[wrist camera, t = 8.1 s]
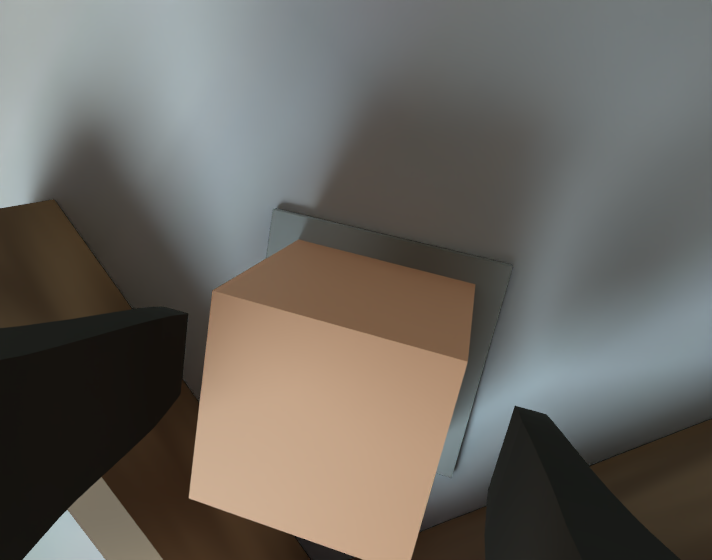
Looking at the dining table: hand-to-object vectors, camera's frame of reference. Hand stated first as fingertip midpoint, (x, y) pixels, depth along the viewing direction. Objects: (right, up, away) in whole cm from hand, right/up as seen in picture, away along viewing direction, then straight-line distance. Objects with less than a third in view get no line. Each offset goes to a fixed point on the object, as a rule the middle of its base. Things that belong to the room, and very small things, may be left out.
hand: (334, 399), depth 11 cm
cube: (+1, +1, +3) cm, 3 cm away
